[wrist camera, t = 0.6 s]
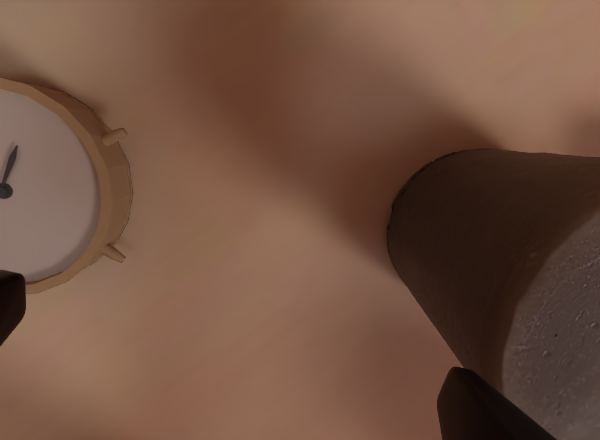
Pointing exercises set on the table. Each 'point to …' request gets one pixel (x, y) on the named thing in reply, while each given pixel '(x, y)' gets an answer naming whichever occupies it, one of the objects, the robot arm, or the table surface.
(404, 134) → the table surface
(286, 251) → the table surface
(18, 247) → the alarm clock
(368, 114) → the table surface
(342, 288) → the table surface
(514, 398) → the pillar candle
